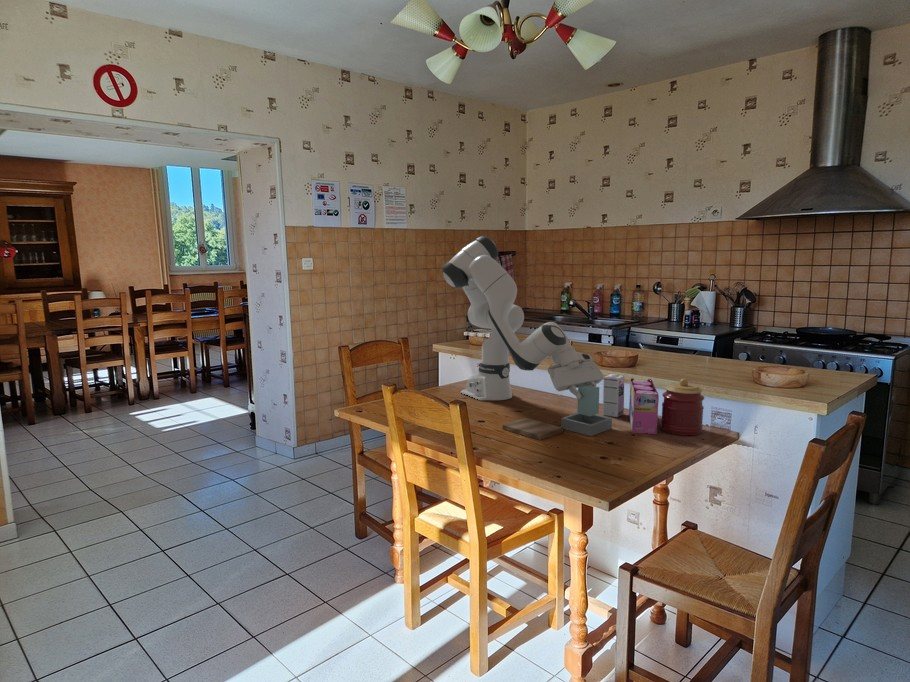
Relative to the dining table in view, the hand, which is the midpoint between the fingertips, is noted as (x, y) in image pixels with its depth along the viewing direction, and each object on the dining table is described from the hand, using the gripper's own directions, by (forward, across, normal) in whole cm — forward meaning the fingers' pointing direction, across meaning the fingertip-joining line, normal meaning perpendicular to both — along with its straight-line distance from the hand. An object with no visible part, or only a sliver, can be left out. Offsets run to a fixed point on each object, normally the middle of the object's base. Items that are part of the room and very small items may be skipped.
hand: (588, 396), depth 195 cm
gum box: (+13, +19, +3) cm, 23 cm away
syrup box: (+4, +19, +13) cm, 23 cm away
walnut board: (+2, -17, +13) cm, 22 cm away
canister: (+22, +24, -6) cm, 33 cm away
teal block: (+4, 0, +4) cm, 6 cm away
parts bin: (+8, -1, +8) cm, 11 cm away
